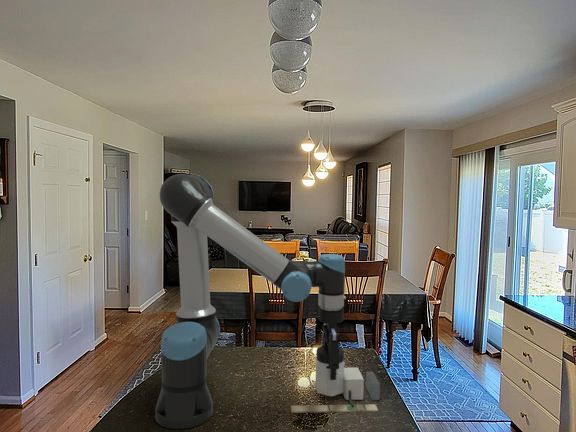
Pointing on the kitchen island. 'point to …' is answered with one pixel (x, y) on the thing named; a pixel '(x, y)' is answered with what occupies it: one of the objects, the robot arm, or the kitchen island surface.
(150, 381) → the kitchen island surface
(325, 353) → the jar
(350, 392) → the carriage
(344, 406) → the strip
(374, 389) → the two-tone gray brick
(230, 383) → the kitchen island surface
